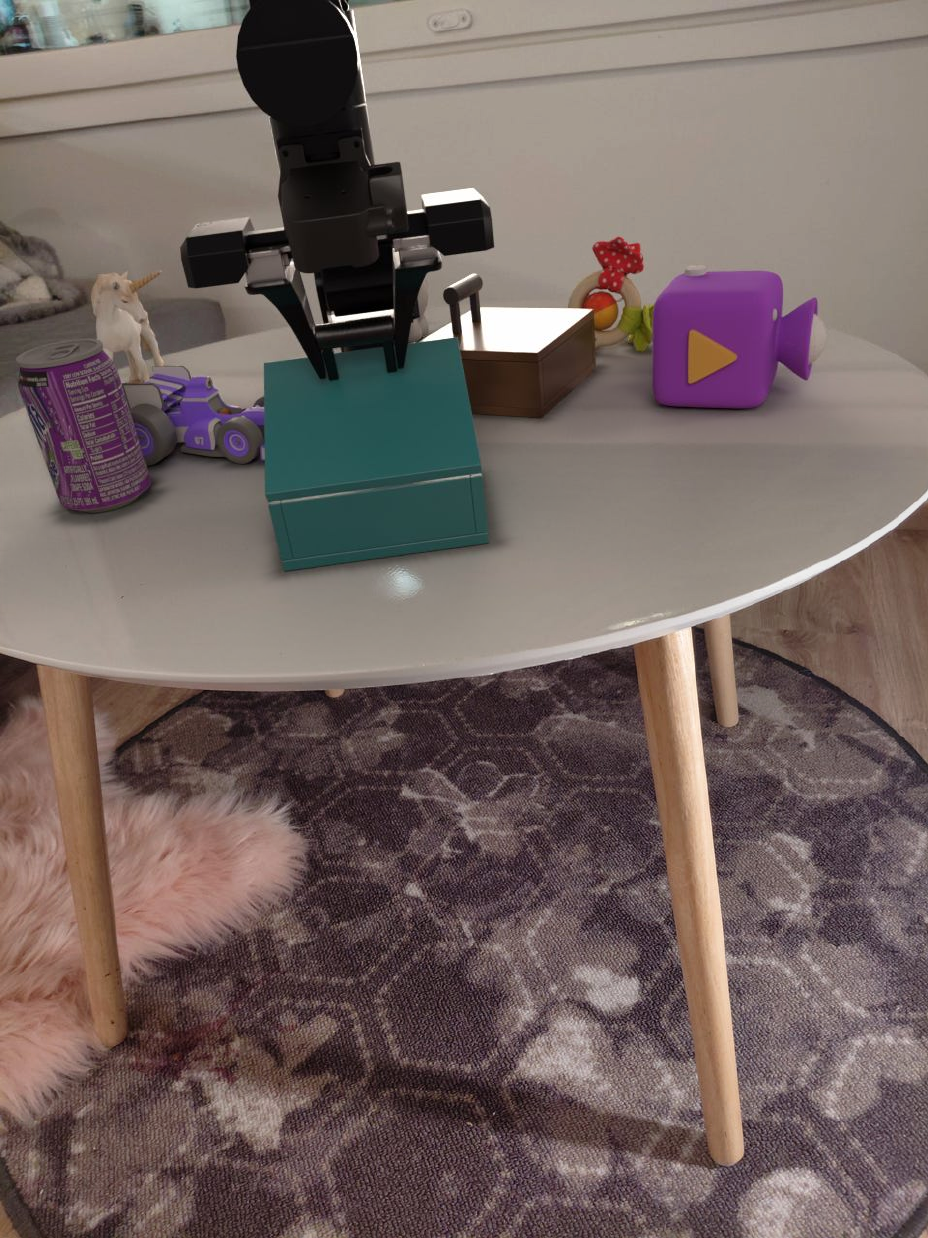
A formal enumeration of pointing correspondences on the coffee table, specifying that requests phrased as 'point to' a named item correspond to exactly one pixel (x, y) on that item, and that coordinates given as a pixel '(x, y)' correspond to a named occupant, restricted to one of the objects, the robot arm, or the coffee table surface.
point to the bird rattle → (616, 266)
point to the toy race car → (192, 418)
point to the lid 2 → (505, 326)
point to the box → (531, 378)
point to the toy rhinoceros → (420, 324)
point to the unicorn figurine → (124, 321)
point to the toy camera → (728, 338)
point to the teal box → (380, 522)
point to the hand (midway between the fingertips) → (361, 372)
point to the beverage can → (83, 425)
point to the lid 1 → (366, 415)
